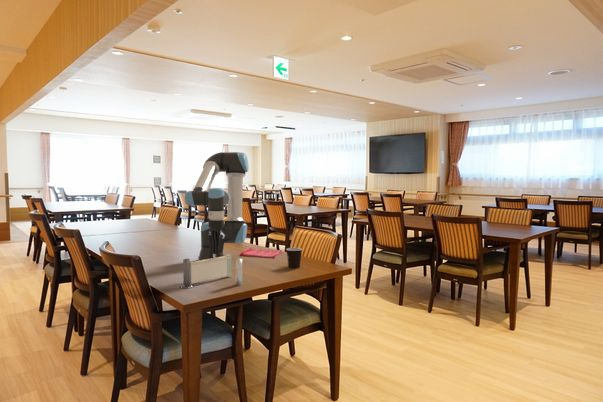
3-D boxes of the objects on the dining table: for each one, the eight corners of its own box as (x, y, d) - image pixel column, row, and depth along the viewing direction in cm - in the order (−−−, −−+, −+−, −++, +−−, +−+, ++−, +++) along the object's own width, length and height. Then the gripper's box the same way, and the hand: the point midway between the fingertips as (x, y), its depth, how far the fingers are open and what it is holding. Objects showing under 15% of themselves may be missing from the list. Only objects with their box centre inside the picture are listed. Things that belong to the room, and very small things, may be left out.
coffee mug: (300, 269, 215) (300, 251, 214) (284, 268, 216) (284, 250, 216) (304, 264, 226) (304, 247, 225) (289, 263, 228) (289, 246, 227)
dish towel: (250, 251, 265) (250, 247, 265) (283, 253, 258) (283, 249, 258) (239, 256, 249) (238, 252, 248) (274, 259, 242) (274, 255, 242)
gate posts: (179, 289, 177) (179, 263, 176) (180, 285, 184) (179, 259, 183) (242, 285, 184) (242, 259, 183) (241, 281, 191) (240, 256, 190)
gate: (185, 286, 179) (185, 260, 179) (182, 285, 181) (181, 259, 181) (231, 276, 198) (231, 252, 197) (228, 275, 199) (228, 251, 199)
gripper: (202, 218, 197) (202, 265, 198) (217, 221, 188) (217, 270, 190) (214, 217, 202) (215, 263, 204) (230, 219, 193) (230, 267, 195)
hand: (216, 266), depth 197 cm, fingers closed
